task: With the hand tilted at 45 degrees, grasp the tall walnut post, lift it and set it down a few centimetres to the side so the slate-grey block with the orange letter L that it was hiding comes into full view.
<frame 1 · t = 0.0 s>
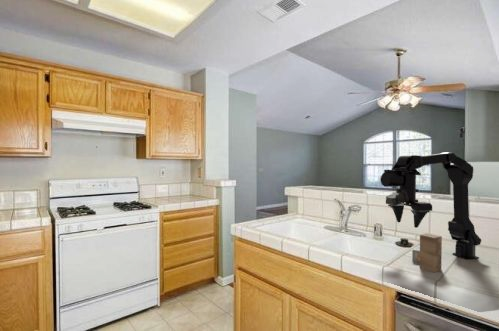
hand: (407, 224, 108), 14 cm above the worktop, tool pointing down, fingers open, 9 cm apart
walnut post: (430, 268, 100), on the worktop
letter block: (419, 260, 109), on the worktop
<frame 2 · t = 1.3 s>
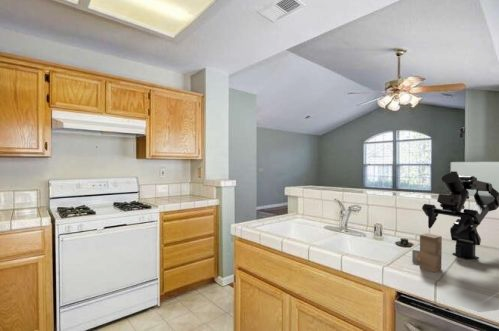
hand: (441, 230, 104), 13 cm above the worktop, tool tilted 45°, fingers open, 9 cm apart
nothing on the worktop moved.
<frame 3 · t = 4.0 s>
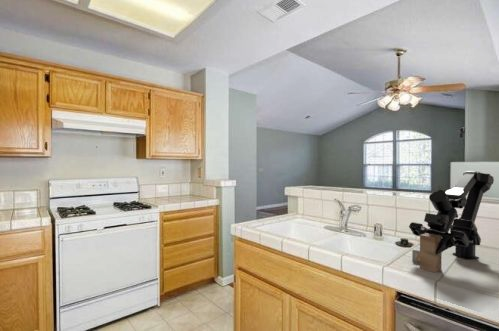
hand: (428, 251, 99), 7 cm above the worktop, tool tilted 45°, fingers closed on walnut post, 5 cm apart
walnut post: (430, 268, 100), on the worktop, touching gripper
everything else where it was.
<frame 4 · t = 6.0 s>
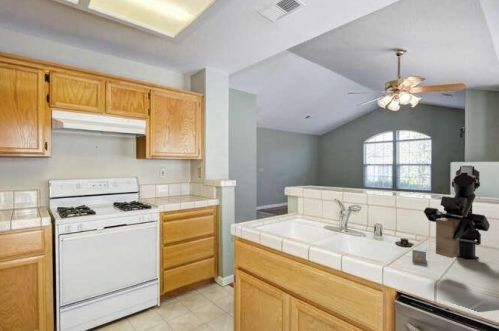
hand: (445, 236, 94), 14 cm above the worktop, tool tilted 45°, fingers closed on walnut post, 5 cm apart
walnut post: (447, 254, 95), point 7 cm above the worktop, touching gripper
everything else where it was.
when the fingers open (7 cm above the worktop, at t = 7.8 s): walnut post stays where it is, on the worktop.
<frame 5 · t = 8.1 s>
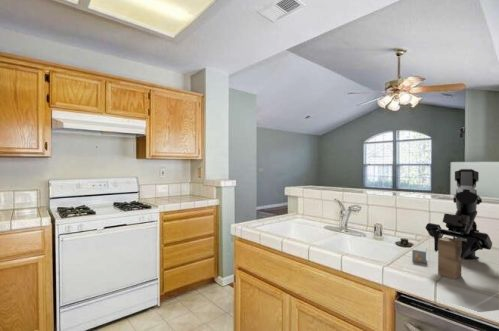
hand: (447, 254, 93), 8 cm above the worktop, tool tilted 45°, fingers open, 8 cm apart
walnut post: (449, 274, 94), on the worktop
everything else where it was.
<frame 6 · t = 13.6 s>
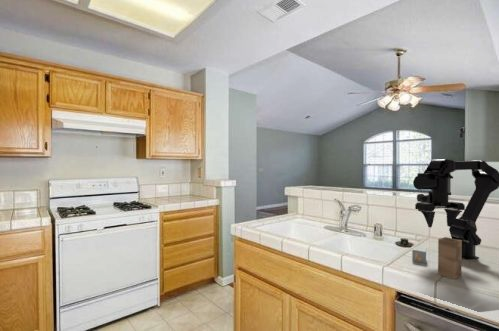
hand: (439, 226, 111), 13 cm above the worktop, tool pointing down, fingers open, 9 cm apart
nothing on the worktop moved.
at the end: walnut post 0.0 cm from the target spot, on the worktop; walnut post tilted 0°; letter block moved 0.1 cm from its start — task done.
